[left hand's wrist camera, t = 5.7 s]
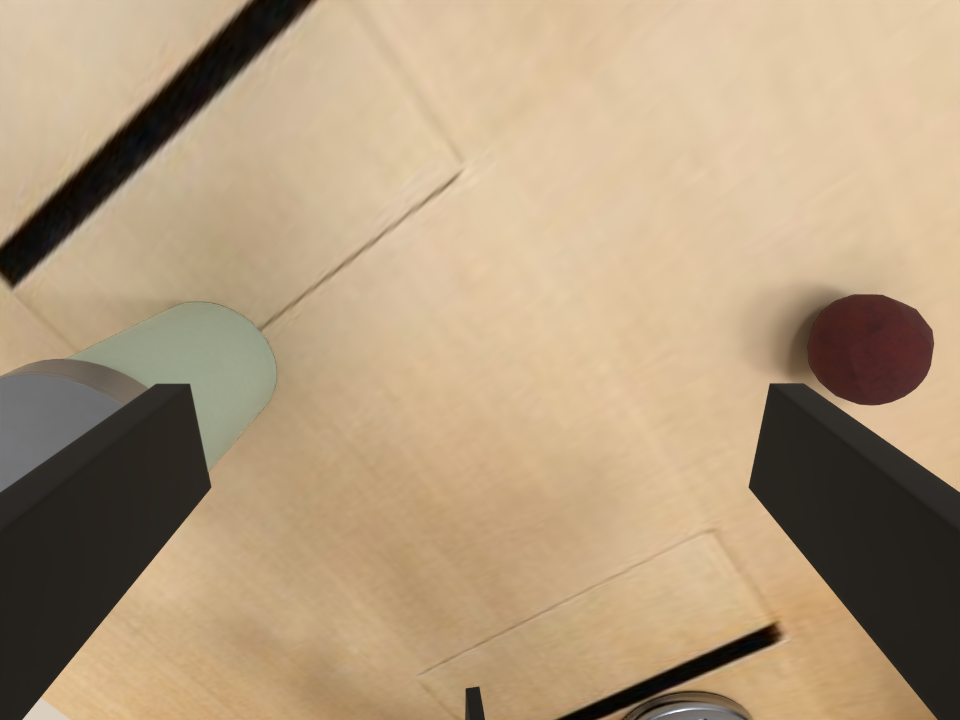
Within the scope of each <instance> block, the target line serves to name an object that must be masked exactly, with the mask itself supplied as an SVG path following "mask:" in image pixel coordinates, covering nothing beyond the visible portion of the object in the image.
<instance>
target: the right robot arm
mask: <svg viewBox="0 0 960 720" xmlns="http://www.w3.org/2000/svg"><path fill="white" fill-rule="evenodd" d="M465 720H485V717H484V711H483V706H482V700H481V694H480V688H479V687H473V688H466V712H465ZM624 720H753V718H752V717H751V715H750V714H749V713H748V712H747V711H746V710H745V709H744V708H743V707H742V706H740V705H739V704H737V703H736V702H734V701H732V700H730V699H727V698H725V697H722V696H718V695H714V694H709V693H697V692H690V693H679V694H673V695H668V696H664V697H661V698H658V699H655V700H653V701H650V702H648V703H646V704H644V705H642V706H641V707H639V708H637V709H636V710H634V711H633V712H632V713H631V714H629V715H628V716H627V717H626V718H625V719H624Z"/></svg>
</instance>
